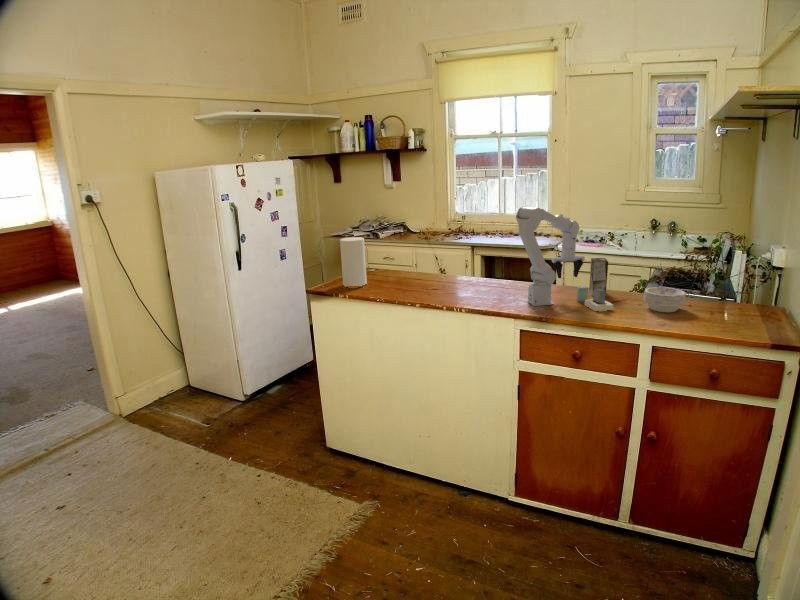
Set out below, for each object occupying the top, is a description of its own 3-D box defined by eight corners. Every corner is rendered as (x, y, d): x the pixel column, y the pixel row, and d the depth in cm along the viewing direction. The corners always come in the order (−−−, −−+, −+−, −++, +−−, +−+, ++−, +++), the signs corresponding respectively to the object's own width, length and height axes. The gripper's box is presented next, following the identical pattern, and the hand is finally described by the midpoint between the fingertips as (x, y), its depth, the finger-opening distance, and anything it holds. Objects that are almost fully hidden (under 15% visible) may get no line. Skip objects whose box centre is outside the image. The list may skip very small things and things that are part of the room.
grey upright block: (579, 302, 231) (580, 289, 229) (574, 299, 235) (575, 286, 234) (589, 301, 231) (589, 288, 230) (584, 299, 236) (585, 286, 234)
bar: (598, 309, 219) (599, 291, 217) (592, 306, 224) (594, 288, 222) (604, 309, 220) (605, 290, 218) (598, 306, 224) (599, 287, 222)
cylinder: (368, 287, 273) (365, 239, 266) (344, 289, 270) (341, 241, 263) (364, 282, 284) (361, 236, 278) (341, 284, 282) (338, 238, 275)
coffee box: (606, 296, 238) (608, 261, 234) (591, 296, 240) (593, 261, 235) (603, 291, 247) (605, 257, 243) (588, 291, 248) (590, 257, 244)
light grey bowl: (677, 304, 222) (679, 286, 220) (689, 315, 207) (691, 296, 205) (639, 304, 225) (640, 286, 223) (647, 314, 211) (649, 295, 208)
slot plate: (595, 311, 217) (596, 305, 216) (584, 305, 226) (584, 299, 226) (612, 310, 218) (613, 304, 217) (600, 303, 227) (601, 298, 226)
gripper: (556, 250, 229) (555, 280, 232) (588, 247, 230) (586, 278, 234) (550, 247, 235) (549, 276, 239) (581, 245, 237) (579, 274, 241)
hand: (567, 277), depth 237 cm, fingers open, 7 cm apart
